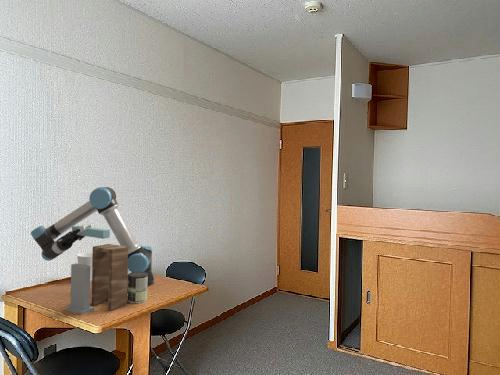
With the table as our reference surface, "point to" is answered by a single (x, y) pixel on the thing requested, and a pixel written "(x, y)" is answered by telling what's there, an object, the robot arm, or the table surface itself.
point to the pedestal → (80, 289)
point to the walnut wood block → (109, 276)
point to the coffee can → (137, 287)
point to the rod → (93, 232)
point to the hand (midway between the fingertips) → (88, 226)
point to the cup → (86, 261)
